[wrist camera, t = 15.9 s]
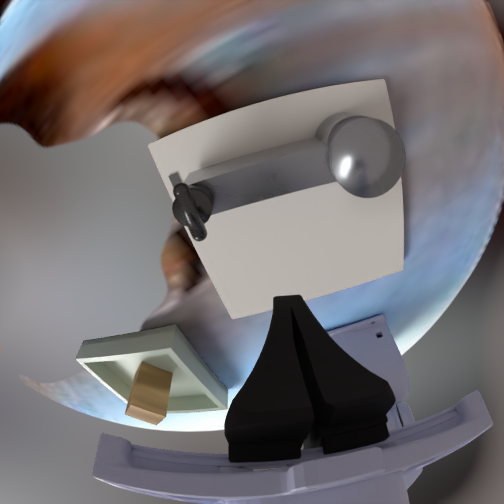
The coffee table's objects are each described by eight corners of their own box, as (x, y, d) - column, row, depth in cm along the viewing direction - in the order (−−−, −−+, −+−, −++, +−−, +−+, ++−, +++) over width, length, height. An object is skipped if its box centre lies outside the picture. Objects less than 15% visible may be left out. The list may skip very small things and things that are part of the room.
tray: (175, 324, 25) (170, 347, 23) (227, 389, 33) (227, 409, 30) (83, 340, 27) (75, 359, 25) (143, 397, 34) (140, 413, 32)
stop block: (141, 361, 28) (130, 404, 23) (173, 373, 29) (165, 416, 24) (134, 374, 29) (124, 414, 24) (163, 385, 31) (156, 425, 26)
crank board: (377, 79, 14) (385, 78, 13) (398, 263, 22) (403, 270, 21) (152, 142, 16) (146, 145, 15) (232, 311, 24) (232, 320, 24)
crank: (370, 108, 14) (413, 116, 10) (379, 170, 16) (419, 198, 12) (176, 157, 16) (152, 181, 11) (200, 216, 18) (187, 258, 14)
